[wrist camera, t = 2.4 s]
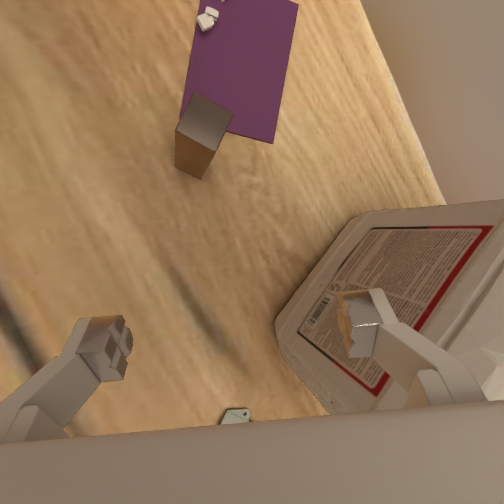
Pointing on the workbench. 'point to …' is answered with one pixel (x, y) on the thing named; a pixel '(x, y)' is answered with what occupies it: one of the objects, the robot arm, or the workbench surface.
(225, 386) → the workbench surface
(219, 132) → the walnut stick
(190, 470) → the robot arm
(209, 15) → the miniature set
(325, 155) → the workbench surface
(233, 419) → the metal bracket
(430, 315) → the jerry can
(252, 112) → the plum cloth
